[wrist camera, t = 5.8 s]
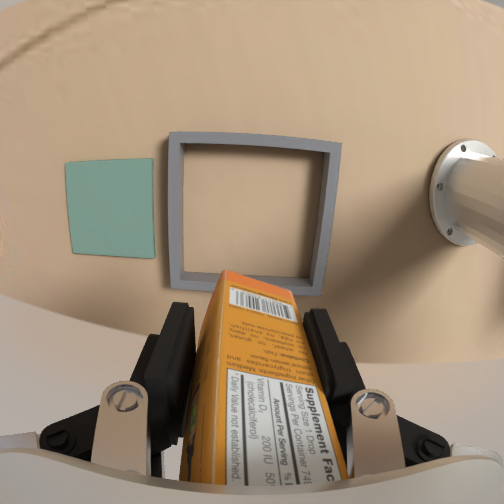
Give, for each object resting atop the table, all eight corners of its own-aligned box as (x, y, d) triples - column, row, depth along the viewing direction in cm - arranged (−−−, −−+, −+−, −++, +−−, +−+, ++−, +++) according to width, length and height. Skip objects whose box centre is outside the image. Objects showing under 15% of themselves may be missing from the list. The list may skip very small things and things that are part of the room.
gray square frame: (335, 142, 26) (342, 143, 24) (316, 286, 32) (320, 296, 30) (174, 132, 26) (169, 131, 24) (175, 279, 31) (170, 288, 29)
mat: (153, 158, 27) (151, 158, 26) (155, 256, 30) (154, 258, 30) (67, 162, 26) (65, 163, 26) (75, 251, 30) (73, 253, 29)
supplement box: (271, 346, 14) (289, 559, 5) (200, 325, 13) (157, 547, 4) (300, 288, 13) (367, 529, 3) (223, 262, 12) (180, 526, 3)
